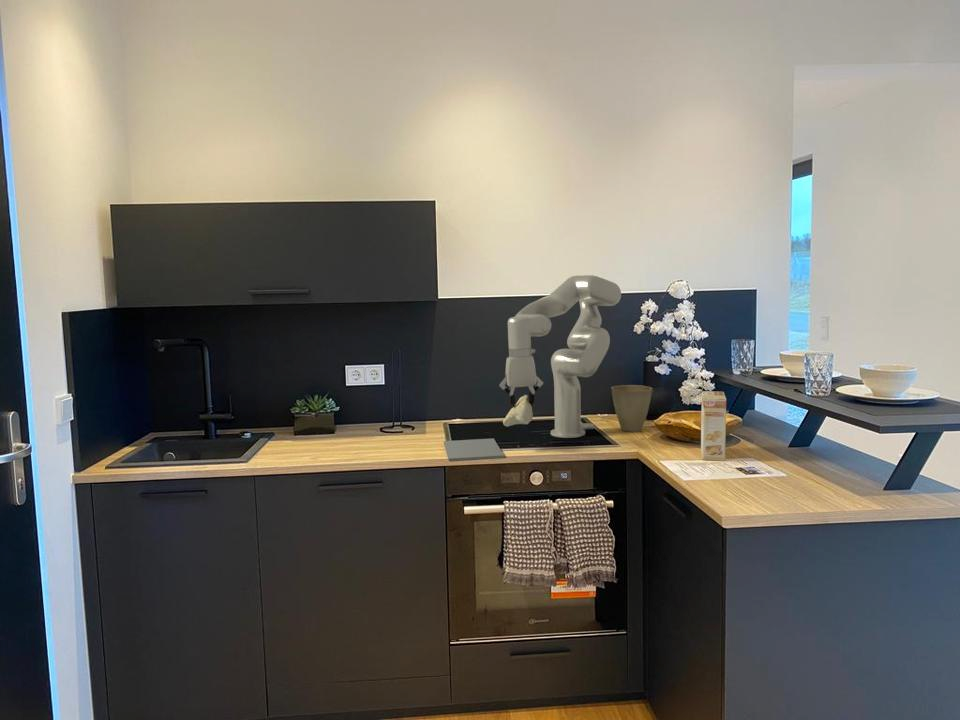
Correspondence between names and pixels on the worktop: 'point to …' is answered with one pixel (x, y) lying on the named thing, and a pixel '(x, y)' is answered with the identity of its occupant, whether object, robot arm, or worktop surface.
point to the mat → (472, 449)
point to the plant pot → (631, 405)
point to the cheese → (519, 413)
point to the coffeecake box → (713, 425)
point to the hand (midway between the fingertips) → (522, 405)
